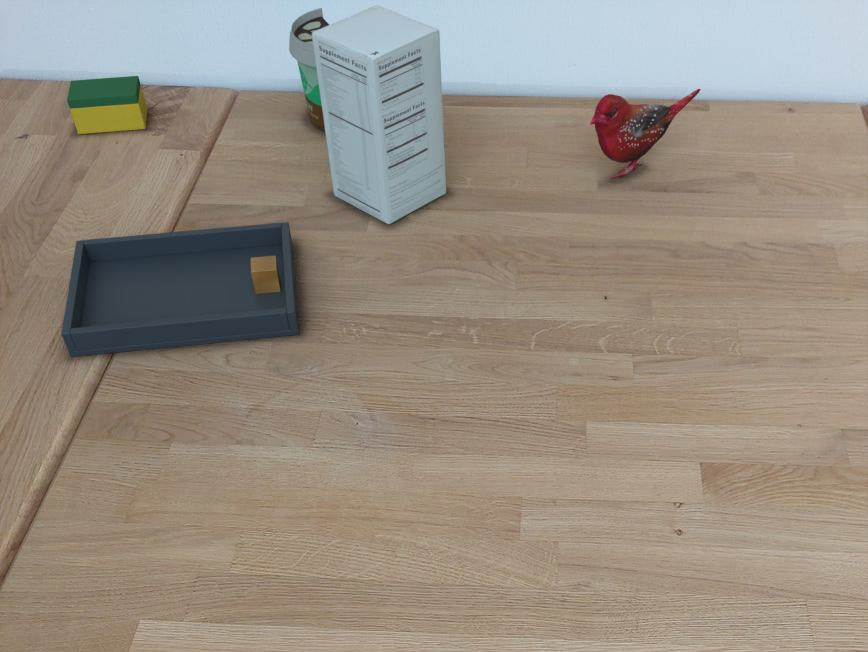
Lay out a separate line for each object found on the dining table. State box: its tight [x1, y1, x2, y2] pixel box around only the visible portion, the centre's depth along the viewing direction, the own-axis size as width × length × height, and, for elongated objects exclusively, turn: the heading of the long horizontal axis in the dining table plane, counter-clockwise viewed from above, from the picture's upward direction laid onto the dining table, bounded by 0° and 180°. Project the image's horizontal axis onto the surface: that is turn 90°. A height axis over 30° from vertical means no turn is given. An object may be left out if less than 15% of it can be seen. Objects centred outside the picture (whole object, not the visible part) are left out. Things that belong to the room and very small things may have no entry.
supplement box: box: [312, 4, 447, 225], centre depth 101 cm, size 10×9×17 cm
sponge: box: [66, 75, 148, 135], centre depth 117 cm, size 8×5×4 cm, turn 99°
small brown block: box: [251, 256, 281, 294], centre depth 96 cm, size 2×2×2 cm
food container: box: [288, 7, 330, 133], centre depth 114 cm, size 12×6×10 cm, turn 27°
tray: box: [60, 221, 300, 358], centre depth 96 cm, size 22×16×3 cm
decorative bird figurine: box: [589, 88, 701, 180], centre depth 107 cm, size 3×18×10 cm, turn 130°
